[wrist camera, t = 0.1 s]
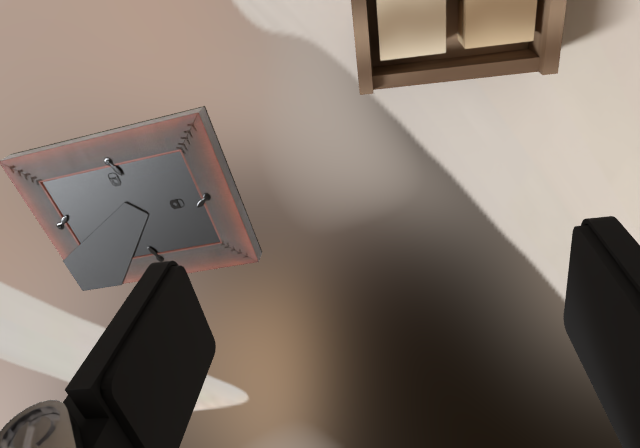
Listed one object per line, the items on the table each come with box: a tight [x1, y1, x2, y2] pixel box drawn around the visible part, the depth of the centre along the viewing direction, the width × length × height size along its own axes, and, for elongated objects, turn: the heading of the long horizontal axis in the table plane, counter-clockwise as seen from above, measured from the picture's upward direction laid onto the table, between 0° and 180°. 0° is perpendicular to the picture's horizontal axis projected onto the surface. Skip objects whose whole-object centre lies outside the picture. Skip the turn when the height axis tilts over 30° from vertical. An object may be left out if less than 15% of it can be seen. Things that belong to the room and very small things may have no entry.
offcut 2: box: [458, 0, 537, 49], centre depth 33 cm, size 5×5×4 cm
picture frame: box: [0, 106, 262, 291], centre depth 48 cm, size 16×2×22 cm
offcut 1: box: [376, 0, 446, 61], centre depth 34 cm, size 5×5×4 cm
